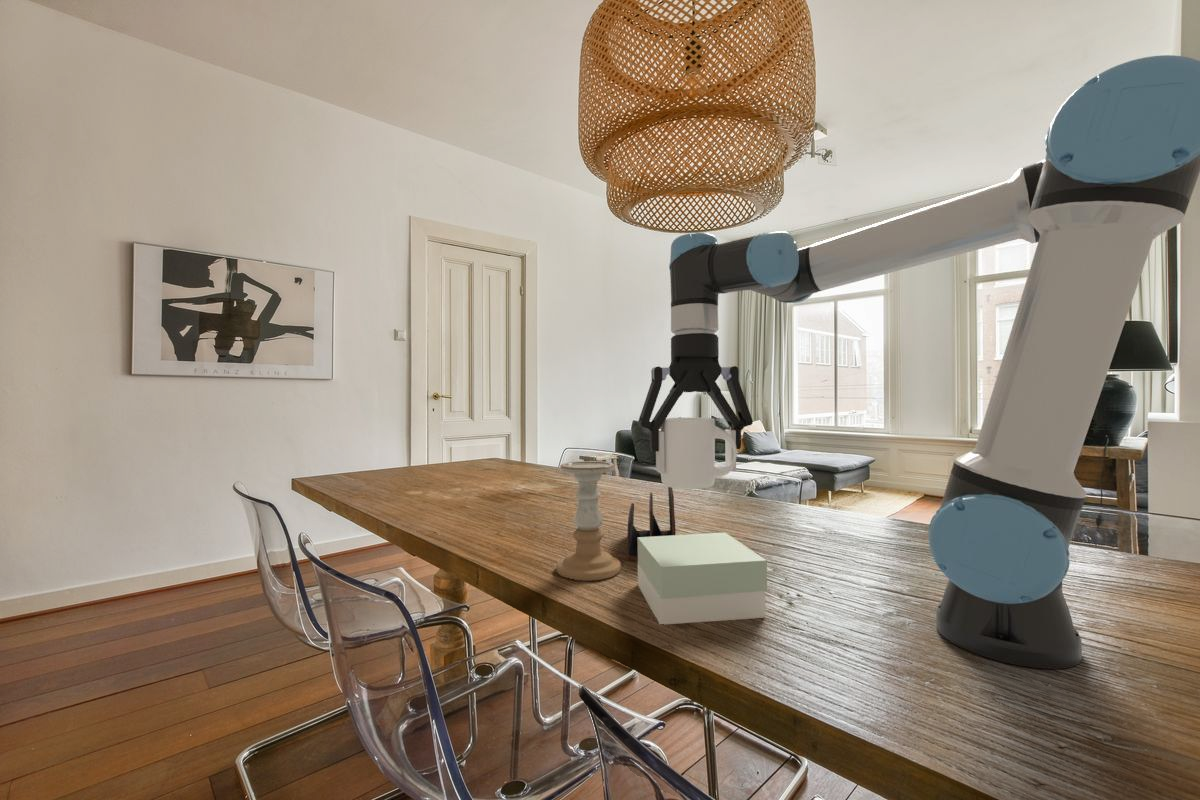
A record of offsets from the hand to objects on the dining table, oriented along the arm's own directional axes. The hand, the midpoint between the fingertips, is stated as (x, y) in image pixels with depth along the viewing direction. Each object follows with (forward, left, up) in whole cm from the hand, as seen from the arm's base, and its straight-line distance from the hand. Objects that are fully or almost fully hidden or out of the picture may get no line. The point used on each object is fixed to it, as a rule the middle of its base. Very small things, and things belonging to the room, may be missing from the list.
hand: (695, 471), depth 84 cm
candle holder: (+17, +16, -21) cm, 31 cm away
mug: (0, 0, -2) cm, 3 cm away
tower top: (0, 0, -17) cm, 17 cm away
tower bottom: (0, 0, -21) cm, 21 cm away
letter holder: (+30, +1, -21) cm, 37 cm away
